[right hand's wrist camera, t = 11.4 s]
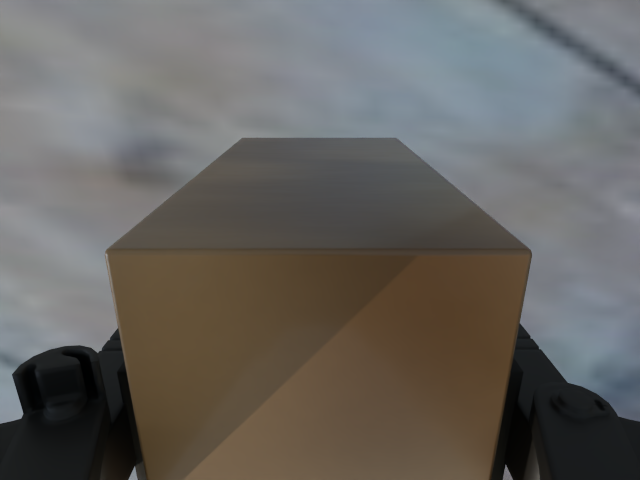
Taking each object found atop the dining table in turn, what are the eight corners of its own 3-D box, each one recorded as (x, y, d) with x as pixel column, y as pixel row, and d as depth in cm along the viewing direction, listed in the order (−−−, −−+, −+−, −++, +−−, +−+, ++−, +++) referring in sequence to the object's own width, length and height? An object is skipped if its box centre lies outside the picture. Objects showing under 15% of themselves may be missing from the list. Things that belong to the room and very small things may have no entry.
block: (253, 335, 19) (175, 643, 9) (241, 137, 16) (100, 250, 6) (385, 335, 19) (462, 643, 9) (397, 137, 16) (535, 250, 6)
